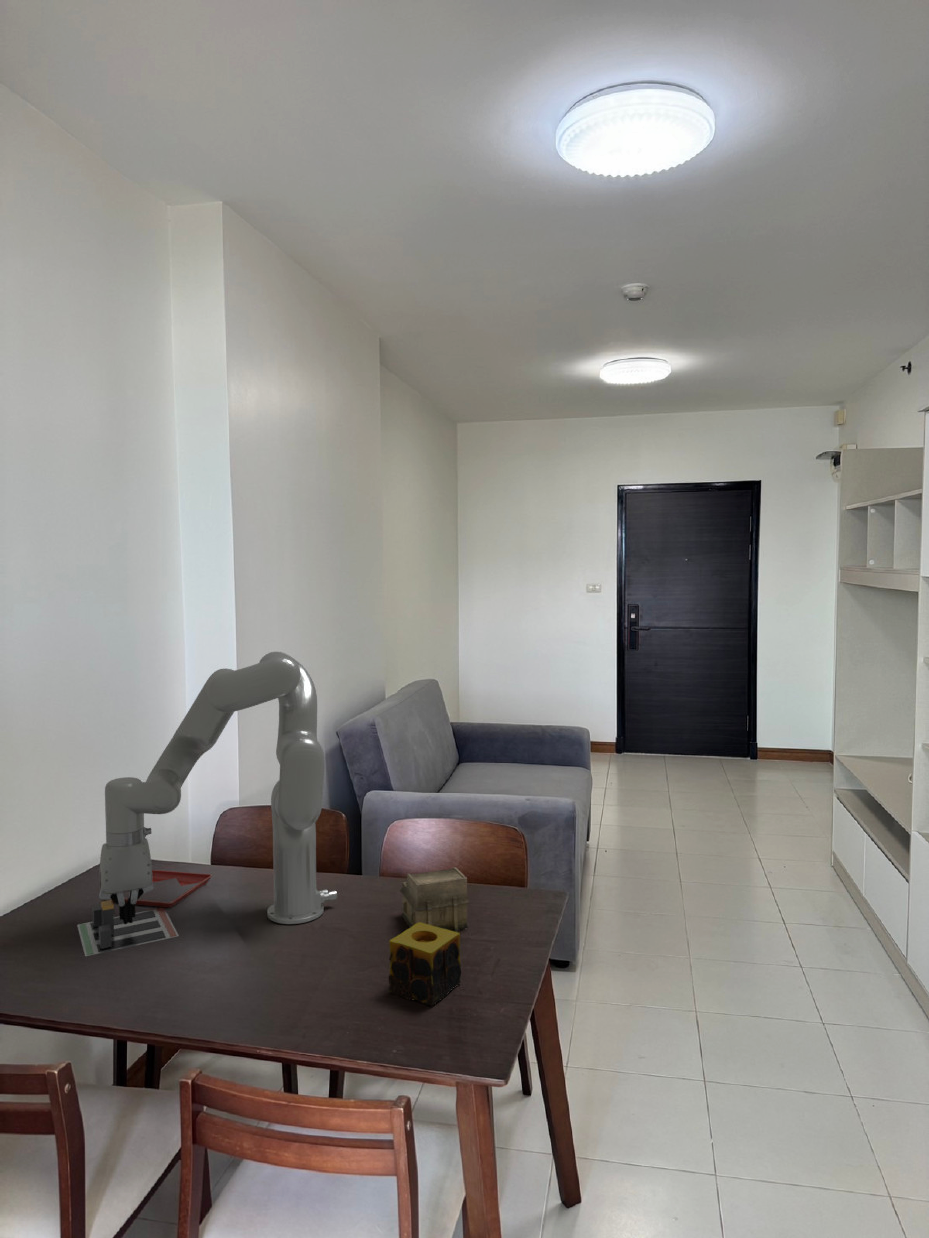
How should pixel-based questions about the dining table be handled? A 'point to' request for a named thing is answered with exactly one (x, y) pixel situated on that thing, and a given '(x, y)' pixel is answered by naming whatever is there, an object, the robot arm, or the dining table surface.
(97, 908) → the breaker
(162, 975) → the dining table surface
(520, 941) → the dining table surface
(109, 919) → the block
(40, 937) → the dining table surface
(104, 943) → the breaker
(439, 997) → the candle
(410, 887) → the miniature house
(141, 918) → the breaker panel
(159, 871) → the red square tray
